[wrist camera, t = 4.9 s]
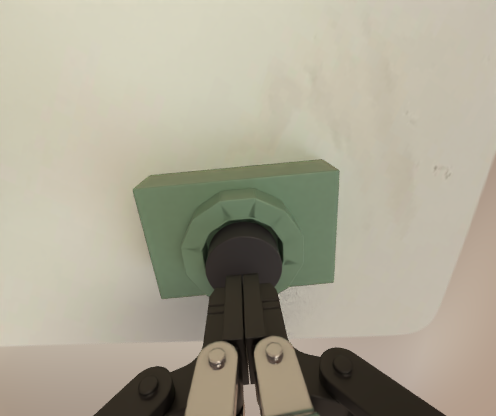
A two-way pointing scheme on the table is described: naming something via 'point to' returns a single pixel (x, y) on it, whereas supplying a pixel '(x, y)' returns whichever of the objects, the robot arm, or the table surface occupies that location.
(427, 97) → the table surface
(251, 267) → the black button
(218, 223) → the green push button box
